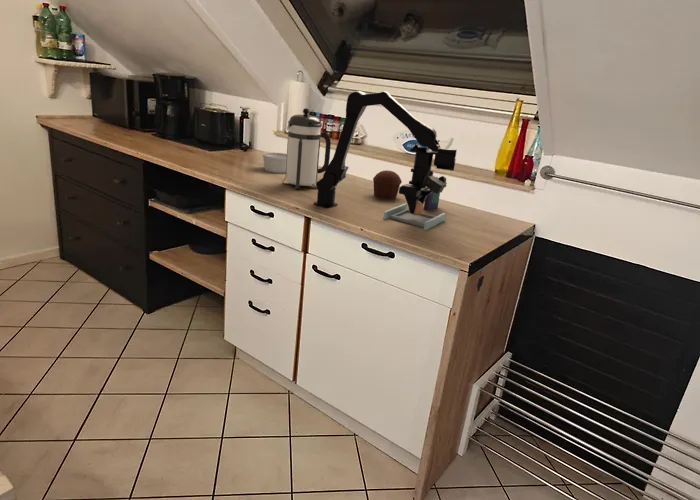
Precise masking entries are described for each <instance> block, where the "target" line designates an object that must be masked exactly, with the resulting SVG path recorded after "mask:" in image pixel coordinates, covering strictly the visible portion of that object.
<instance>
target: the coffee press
mask: <svg viewBox="0 0 700 500" xmlns="http://www.w3.org/2000/svg"><path fill="white" fill-rule="evenodd" d="M302 113H303V114H294V115H291V117H290V118H289V120H288V121H287V122H288V125H287V127H286V130H287V145H286V146H287V149H286V154H287V162H286V173H285V178H284V179H283V180H282V185H286V184H287V183H289V184H291V185H294V186H295V187H294V190H296V191H299V190H300V187H301V186H302V187H304V186H308V187H309V186H313V187H314V188H315V189H316V190H318V189H317V186H316V183H317V182H318V174H323V173H325V171H326V169H327V167H328V165H329V164H330V159H331V157H330V156H331V147H332V146H331V144H332V143H331V138H330V136H329V135H328V134H327V133H325V132H321V129H322V127H323V123H322V122H321V120H320V118H318V117H317V116H314V115H310V114H309V113H310V110H309V108H307V107H305V108H303V110H302ZM321 138H323V139H324V141H325V149H324V150H325V152H324V163H323V165H322V166H321V168H319V163H320V162H319V161H320V160H319V159H320V151H321V150H320V148H321ZM285 180H286V181H287V182H284V181H285Z"/></svg>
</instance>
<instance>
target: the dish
mask: <svg viewBox="0 0 700 500" xmlns="http://www.w3.org/2000/svg"><path fill="white" fill-rule="evenodd" d="M436 216H437V215H433V214H428V213H424V212H422V213H421V214H419V215H413V214H411V213H410V211H409V208H406V210H403V211H401V212H398V213H396V214H393V215H391V217H390V220H393V221H396V222H397V221H398V222H402V223H405V224H409V225H412V226H415V227H420V228H424V224H425V222H426V221H428V220H430V219H432V218H434V217H436Z"/></svg>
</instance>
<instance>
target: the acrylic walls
mask: <svg viewBox="0 0 700 500" xmlns="http://www.w3.org/2000/svg"><path fill="white" fill-rule="evenodd" d="M407 207H408V204H407V203H402V204H401V205H397V206H395V207H392V208H390V209H387V210H385V211H383V217H382V218H383V219H384V220H387V219H389V218H390V219H391V215H393V214H396V213H398V212H401V211H403V210H406V209H408V208H407ZM446 215H447V214H446V213H445V212H443V213H441V214H439V215H435V216H436V217H434V218H432V219H430V220H428V221H426V222H425V224H424V227H423V231H427V230H429V229H431V228H433V227H434V226H437V225H439V224H440V223H442V222H444V221H445V219H446Z"/></svg>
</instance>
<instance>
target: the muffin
mask: <svg viewBox="0 0 700 500" xmlns="http://www.w3.org/2000/svg"><path fill="white" fill-rule="evenodd" d="M372 181H373V196H374V197H376V198H378V199H381V200H396V198H397V196H398V194H399V187H401V184H402V180H401V177H400V175H399V174H398V173H397V172H395V171H392V170H388V169H387V170H382V171H379V172H378V173H376V174H375V176H374V177H373V178H372Z"/></svg>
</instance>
